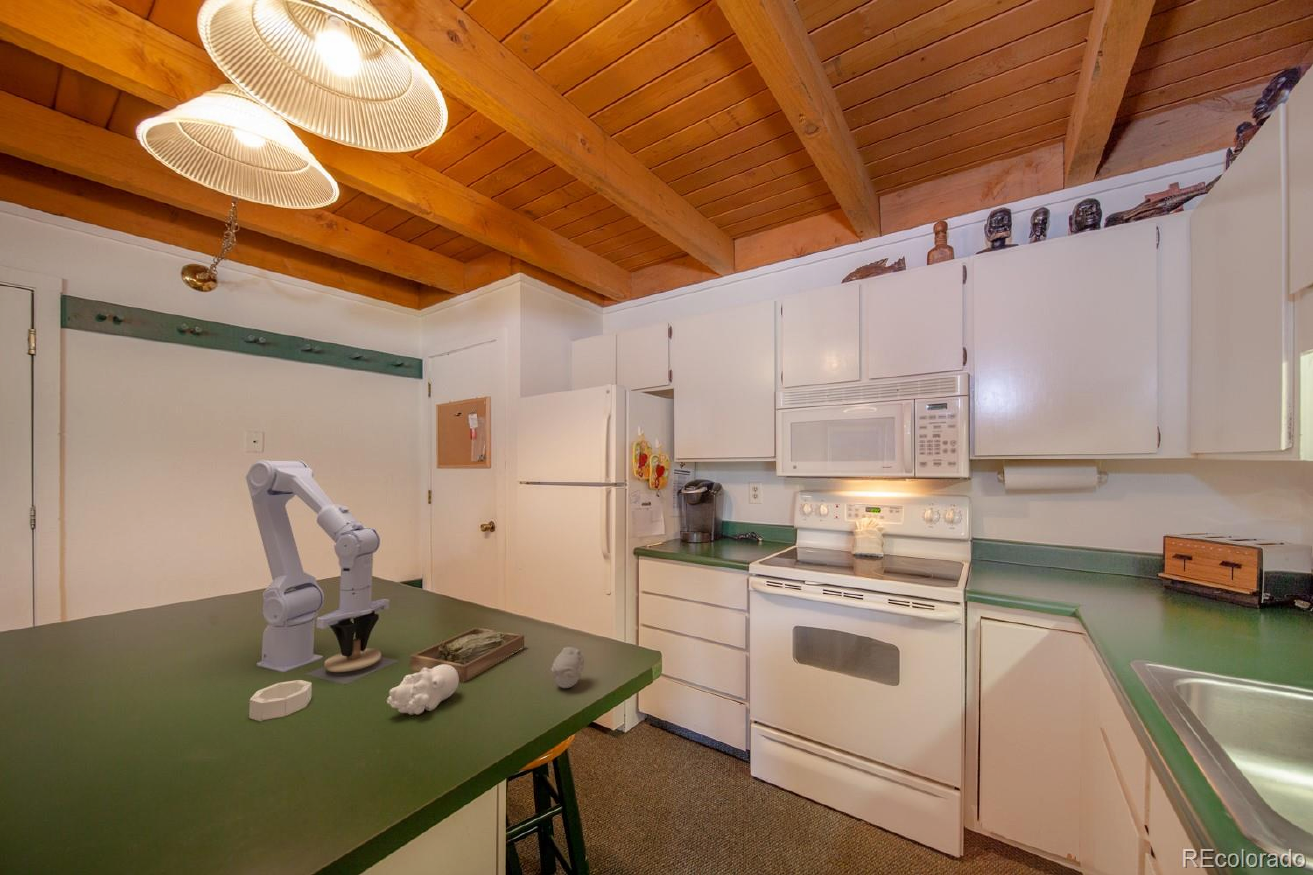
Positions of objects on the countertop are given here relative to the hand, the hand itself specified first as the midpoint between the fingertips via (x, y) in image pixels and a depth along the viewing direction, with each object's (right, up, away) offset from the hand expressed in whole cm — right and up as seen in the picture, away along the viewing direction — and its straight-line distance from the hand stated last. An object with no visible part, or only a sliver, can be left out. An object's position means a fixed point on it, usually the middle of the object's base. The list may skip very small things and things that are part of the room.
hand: (353, 652), depth 100 cm
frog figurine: (+47, -3, -8) cm, 47 cm away
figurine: (+23, -3, -16) cm, 28 cm away
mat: (0, -3, 0) cm, 3 cm away
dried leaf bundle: (+23, -4, +4) cm, 24 cm away
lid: (0, -2, 0) cm, 2 cm away
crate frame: (+23, -3, +5) cm, 23 cm away
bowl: (-2, -2, -17) cm, 17 cm away
